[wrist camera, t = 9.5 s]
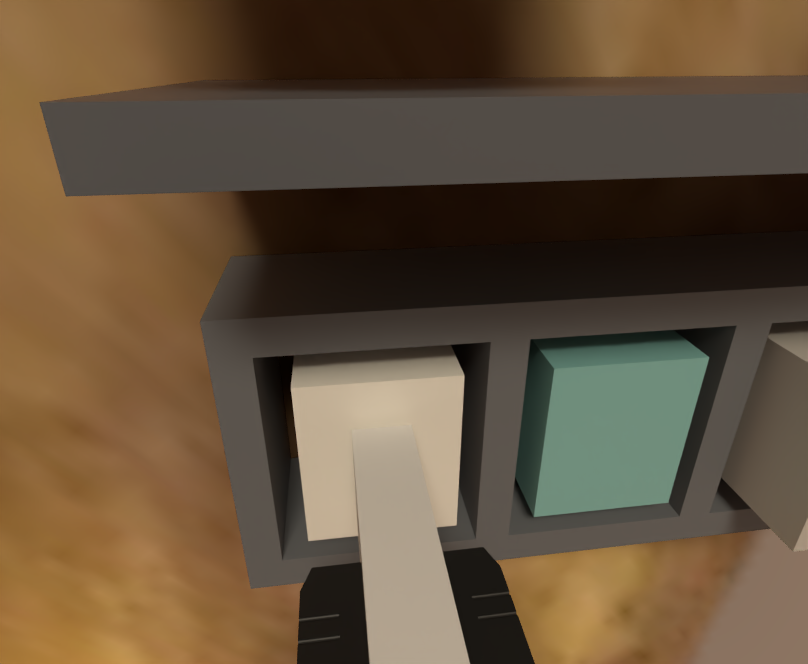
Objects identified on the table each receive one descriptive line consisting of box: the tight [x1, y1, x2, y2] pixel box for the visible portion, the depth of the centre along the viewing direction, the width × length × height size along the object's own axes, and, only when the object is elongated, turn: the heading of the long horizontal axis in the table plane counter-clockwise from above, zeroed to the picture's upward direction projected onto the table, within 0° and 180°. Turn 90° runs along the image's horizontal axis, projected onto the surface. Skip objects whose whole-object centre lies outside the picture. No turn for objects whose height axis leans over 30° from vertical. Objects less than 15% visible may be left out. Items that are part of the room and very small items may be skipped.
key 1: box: [291, 345, 465, 541], centre depth 16 cm, size 4×5×4 cm
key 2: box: [515, 330, 709, 517], centre depth 17 cm, size 4×5×4 cm
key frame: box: [200, 231, 808, 589], centre depth 17 cm, size 27×9×4 cm, turn 90°
